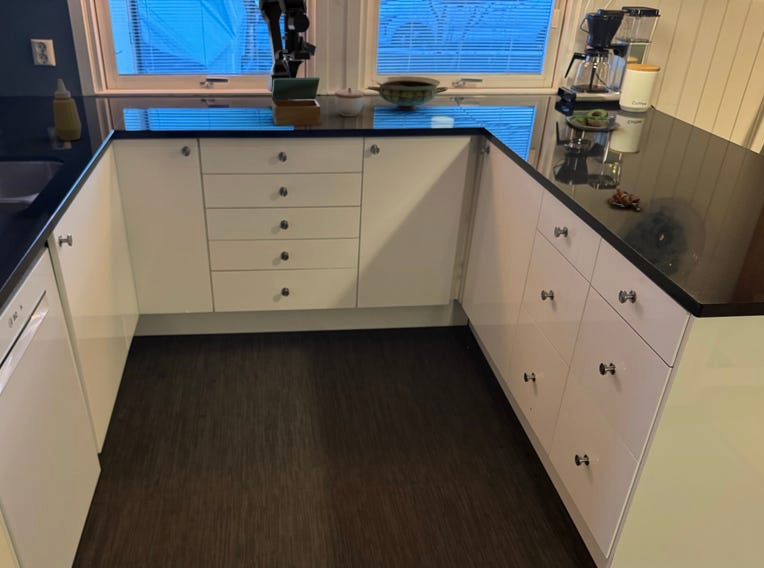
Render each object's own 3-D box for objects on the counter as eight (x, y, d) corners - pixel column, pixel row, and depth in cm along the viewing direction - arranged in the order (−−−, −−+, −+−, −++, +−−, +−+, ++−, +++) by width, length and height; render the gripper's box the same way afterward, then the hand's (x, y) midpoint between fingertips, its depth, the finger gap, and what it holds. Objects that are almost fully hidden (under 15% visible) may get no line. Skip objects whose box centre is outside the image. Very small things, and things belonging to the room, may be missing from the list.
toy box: (320, 124, 241) (320, 106, 237) (275, 126, 239) (275, 107, 235) (315, 117, 251) (315, 99, 247) (272, 118, 249) (271, 100, 245)
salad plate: (631, 133, 233) (635, 119, 231) (579, 133, 232) (582, 119, 230) (609, 120, 249) (612, 107, 247) (560, 120, 249) (563, 107, 246)
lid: (319, 79, 235) (319, 77, 235) (274, 80, 233) (273, 78, 233) (315, 99, 247) (315, 97, 247) (272, 100, 245) (271, 97, 245)
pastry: (635, 196, 176) (639, 182, 174) (640, 212, 166) (644, 197, 164) (606, 194, 177) (609, 180, 175) (609, 209, 168) (613, 194, 166)
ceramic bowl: (443, 103, 274) (446, 76, 269) (447, 116, 254) (450, 87, 248) (368, 101, 276) (369, 74, 271) (366, 114, 256) (367, 85, 251)
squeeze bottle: (59, 143, 216) (48, 82, 207) (55, 137, 223) (44, 78, 213) (85, 140, 220) (75, 80, 210) (80, 134, 226) (70, 76, 216)
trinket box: (364, 111, 259) (365, 85, 254) (362, 118, 250) (363, 90, 245) (335, 110, 260) (336, 84, 255) (333, 117, 251) (334, 90, 246)
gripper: (325, 32, 232) (324, 82, 238) (303, 33, 247) (303, 80, 254) (294, 32, 228) (295, 83, 234) (274, 33, 243) (275, 80, 250)
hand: (293, 81), depth 243 cm, fingers closed
